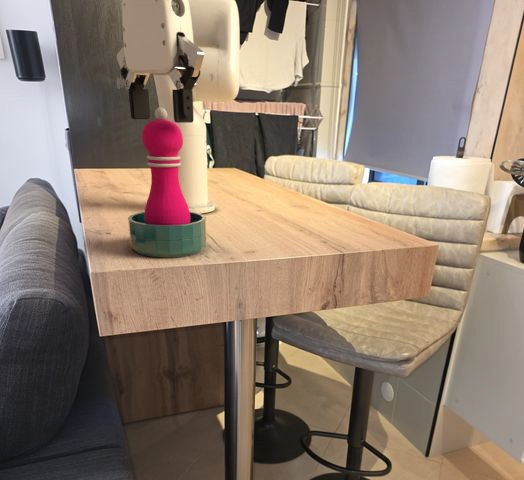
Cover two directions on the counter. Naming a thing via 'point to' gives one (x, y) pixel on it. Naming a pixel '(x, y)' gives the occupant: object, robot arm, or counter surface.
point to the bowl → (167, 237)
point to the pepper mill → (164, 172)
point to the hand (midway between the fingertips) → (161, 120)
